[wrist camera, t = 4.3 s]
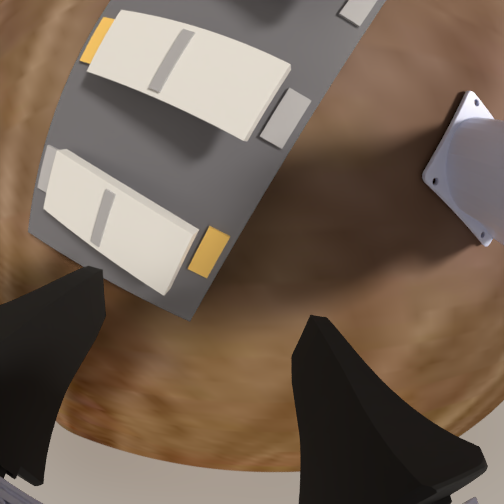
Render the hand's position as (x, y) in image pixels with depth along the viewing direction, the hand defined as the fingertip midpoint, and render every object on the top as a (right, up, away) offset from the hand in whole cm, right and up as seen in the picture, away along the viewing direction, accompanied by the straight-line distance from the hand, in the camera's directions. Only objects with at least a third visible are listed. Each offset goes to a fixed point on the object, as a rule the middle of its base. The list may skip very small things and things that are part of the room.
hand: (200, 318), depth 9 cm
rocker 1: (-2, +10, 0) cm, 10 cm away
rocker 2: (-5, +4, +3) cm, 8 cm away
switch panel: (-2, +12, +4) cm, 12 cm away
